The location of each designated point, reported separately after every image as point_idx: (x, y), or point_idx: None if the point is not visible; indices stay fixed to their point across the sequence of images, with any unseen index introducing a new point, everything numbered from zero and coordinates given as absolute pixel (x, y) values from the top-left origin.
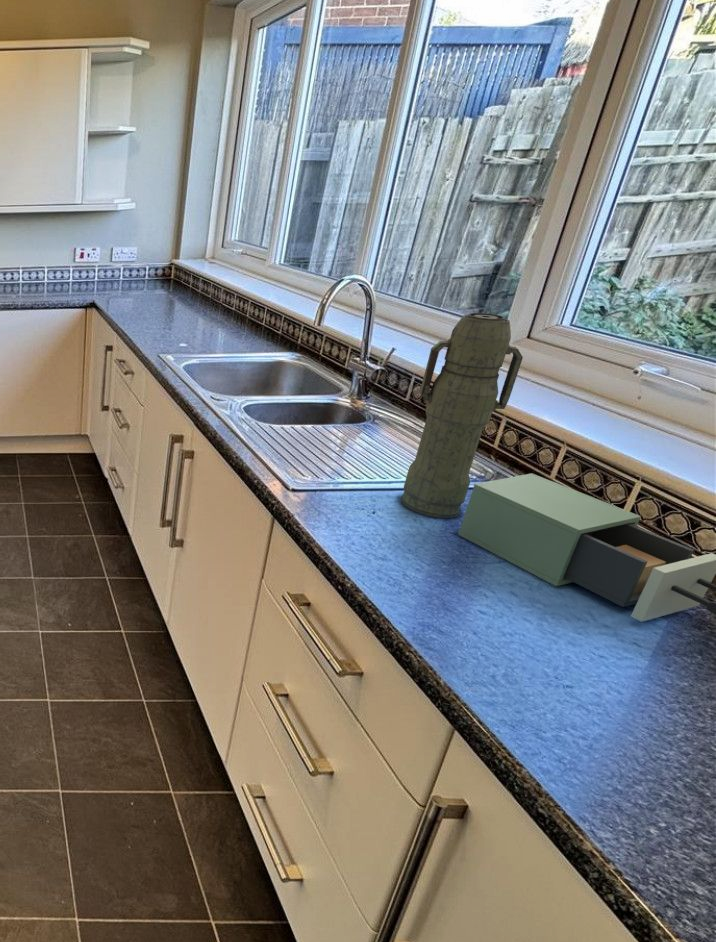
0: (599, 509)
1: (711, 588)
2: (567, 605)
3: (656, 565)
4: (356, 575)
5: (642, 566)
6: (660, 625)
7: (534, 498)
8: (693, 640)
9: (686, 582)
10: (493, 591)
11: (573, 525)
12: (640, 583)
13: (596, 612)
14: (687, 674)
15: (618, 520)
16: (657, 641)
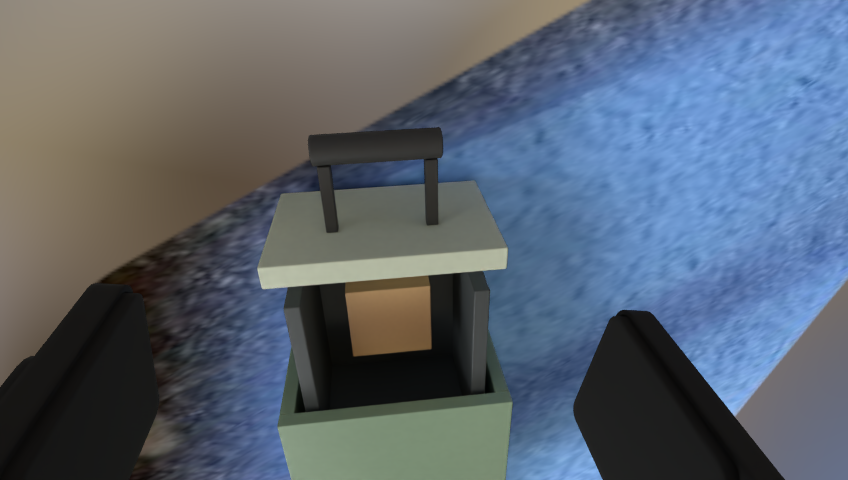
0: (347, 457)
1: (335, 202)
2: (524, 250)
3: (379, 288)
4: (762, 368)
5: (485, 282)
6: (418, 169)
7: None
8: (409, 119)
9: (384, 228)
10: (604, 303)
11: (500, 416)
12: None
13: None
14: (556, 45)
15: (362, 420)
16: (487, 134)
